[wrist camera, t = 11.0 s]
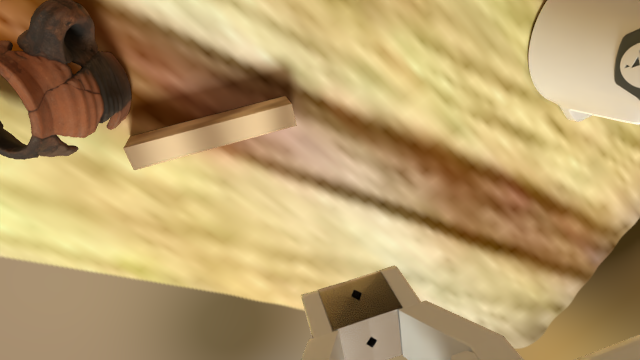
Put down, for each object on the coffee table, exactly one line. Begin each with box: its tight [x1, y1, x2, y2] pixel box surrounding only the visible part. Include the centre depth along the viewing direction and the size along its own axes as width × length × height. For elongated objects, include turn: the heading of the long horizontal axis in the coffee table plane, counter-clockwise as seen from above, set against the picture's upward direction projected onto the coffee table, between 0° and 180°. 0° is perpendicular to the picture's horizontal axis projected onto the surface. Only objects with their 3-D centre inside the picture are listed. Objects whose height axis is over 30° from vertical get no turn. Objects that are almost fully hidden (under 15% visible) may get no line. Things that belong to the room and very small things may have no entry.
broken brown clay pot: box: [0, 0, 131, 160], centre depth 27 cm, size 12×10×8 cm
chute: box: [124, 96, 297, 170], centre depth 28 cm, size 14×22×3 cm, turn 11°
